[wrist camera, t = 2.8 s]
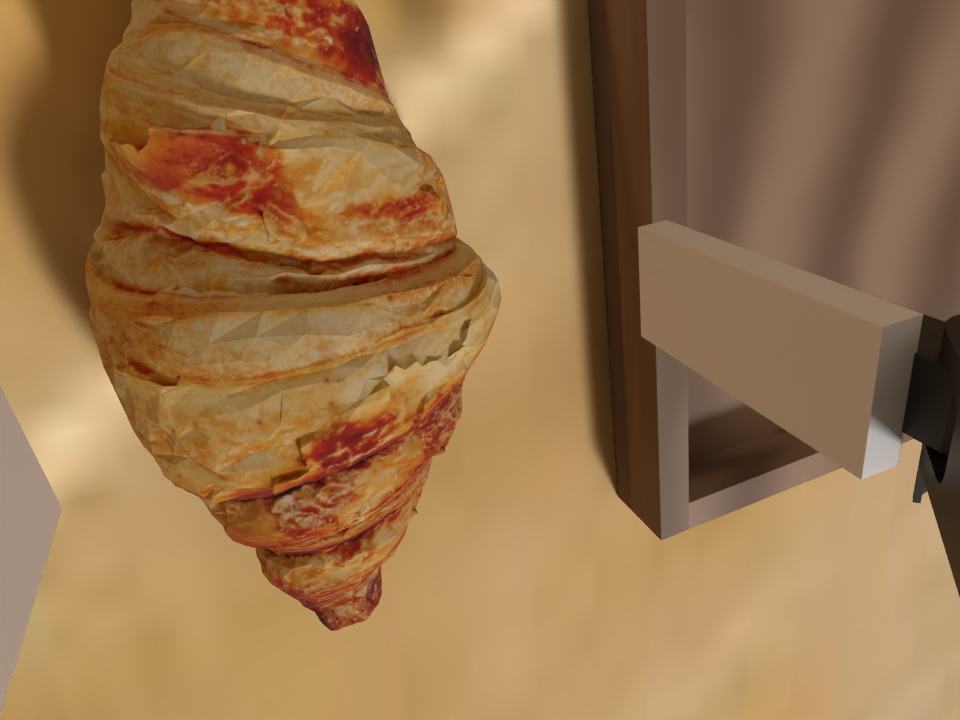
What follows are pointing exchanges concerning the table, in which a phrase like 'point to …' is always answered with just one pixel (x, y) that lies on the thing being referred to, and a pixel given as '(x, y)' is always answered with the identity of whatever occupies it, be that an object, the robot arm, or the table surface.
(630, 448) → the tray
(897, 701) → the table surface
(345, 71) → the croissant
